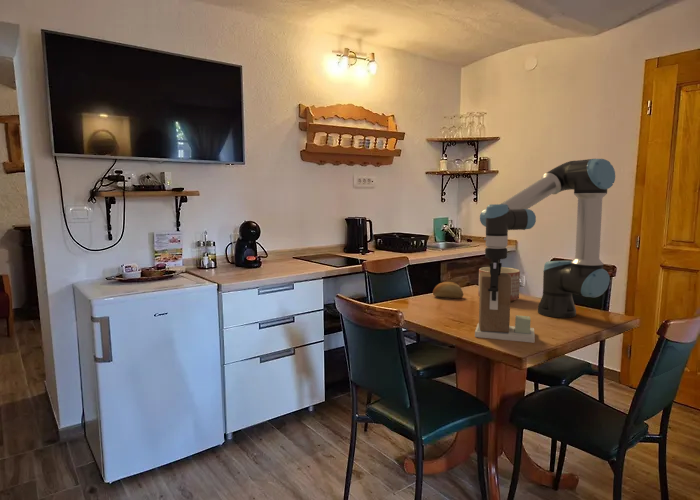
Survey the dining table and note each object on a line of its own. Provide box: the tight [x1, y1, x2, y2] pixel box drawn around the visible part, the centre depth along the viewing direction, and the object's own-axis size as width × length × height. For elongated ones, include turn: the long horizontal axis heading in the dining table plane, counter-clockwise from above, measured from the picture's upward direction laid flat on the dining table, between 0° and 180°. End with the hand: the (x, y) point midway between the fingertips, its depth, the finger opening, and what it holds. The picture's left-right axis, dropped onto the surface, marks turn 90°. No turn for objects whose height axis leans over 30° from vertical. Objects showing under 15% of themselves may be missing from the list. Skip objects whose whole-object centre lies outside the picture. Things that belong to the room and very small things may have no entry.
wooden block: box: [478, 272, 511, 333], centre depth 169 cm, size 10×10×20 cm
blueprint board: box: [474, 322, 536, 344], centre depth 169 cm, size 20×12×2 cm, turn 70°
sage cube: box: [514, 314, 532, 334], centre depth 166 cm, size 5×5×5 cm
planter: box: [477, 266, 521, 303], centre depth 229 cm, size 19×19×15 cm
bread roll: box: [432, 281, 464, 299], centre depth 233 cm, size 10×15×8 cm, turn 75°
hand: (494, 305), depth 169 cm, fingers open, 13 cm apart
